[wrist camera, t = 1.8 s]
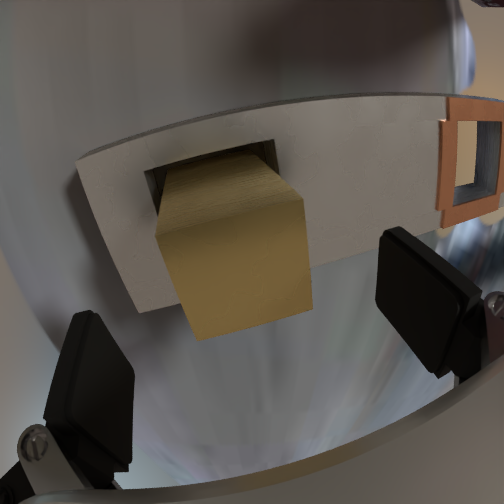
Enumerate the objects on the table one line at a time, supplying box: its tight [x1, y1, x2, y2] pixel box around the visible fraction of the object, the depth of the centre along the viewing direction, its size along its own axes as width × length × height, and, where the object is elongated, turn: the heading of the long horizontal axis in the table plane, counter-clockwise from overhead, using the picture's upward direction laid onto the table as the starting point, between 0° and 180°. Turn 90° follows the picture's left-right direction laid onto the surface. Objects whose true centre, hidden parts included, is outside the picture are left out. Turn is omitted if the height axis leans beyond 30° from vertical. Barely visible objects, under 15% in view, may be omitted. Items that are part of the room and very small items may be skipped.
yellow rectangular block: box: [155, 149, 313, 341], centre depth 13 cm, size 4×4×8 cm
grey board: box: [75, 92, 504, 313], centre depth 16 cm, size 9×30×3 cm, turn 100°
